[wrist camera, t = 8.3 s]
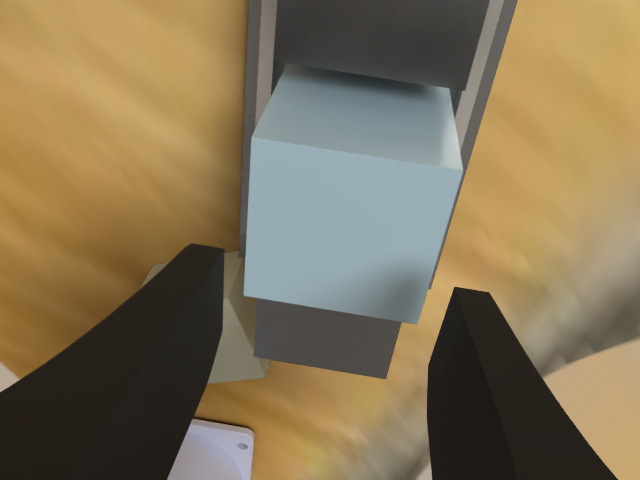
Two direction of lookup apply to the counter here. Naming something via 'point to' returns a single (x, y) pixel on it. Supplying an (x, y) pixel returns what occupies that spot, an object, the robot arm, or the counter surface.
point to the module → (350, 192)
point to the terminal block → (233, 327)
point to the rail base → (377, 61)
